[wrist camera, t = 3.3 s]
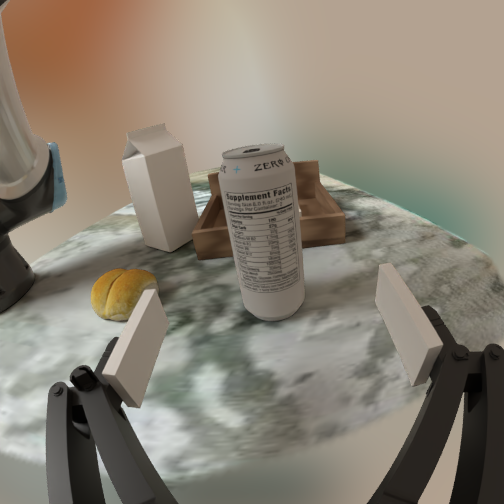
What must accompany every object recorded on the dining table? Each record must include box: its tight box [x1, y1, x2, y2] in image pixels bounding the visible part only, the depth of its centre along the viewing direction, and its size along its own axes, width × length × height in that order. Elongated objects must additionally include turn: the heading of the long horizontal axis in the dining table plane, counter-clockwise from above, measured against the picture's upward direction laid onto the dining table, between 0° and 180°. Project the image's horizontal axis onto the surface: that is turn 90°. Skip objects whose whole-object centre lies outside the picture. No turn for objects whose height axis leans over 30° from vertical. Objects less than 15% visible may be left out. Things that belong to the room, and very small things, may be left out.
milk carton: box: [122, 124, 199, 252], centre depth 42 cm, size 7×7×19 cm
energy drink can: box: [218, 144, 305, 321], centre depth 24 cm, size 6×6×15 cm
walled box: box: [192, 160, 345, 260], centre depth 43 cm, size 20×18×8 cm
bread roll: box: [91, 268, 159, 321], centre depth 31 cm, size 8×9×4 cm
